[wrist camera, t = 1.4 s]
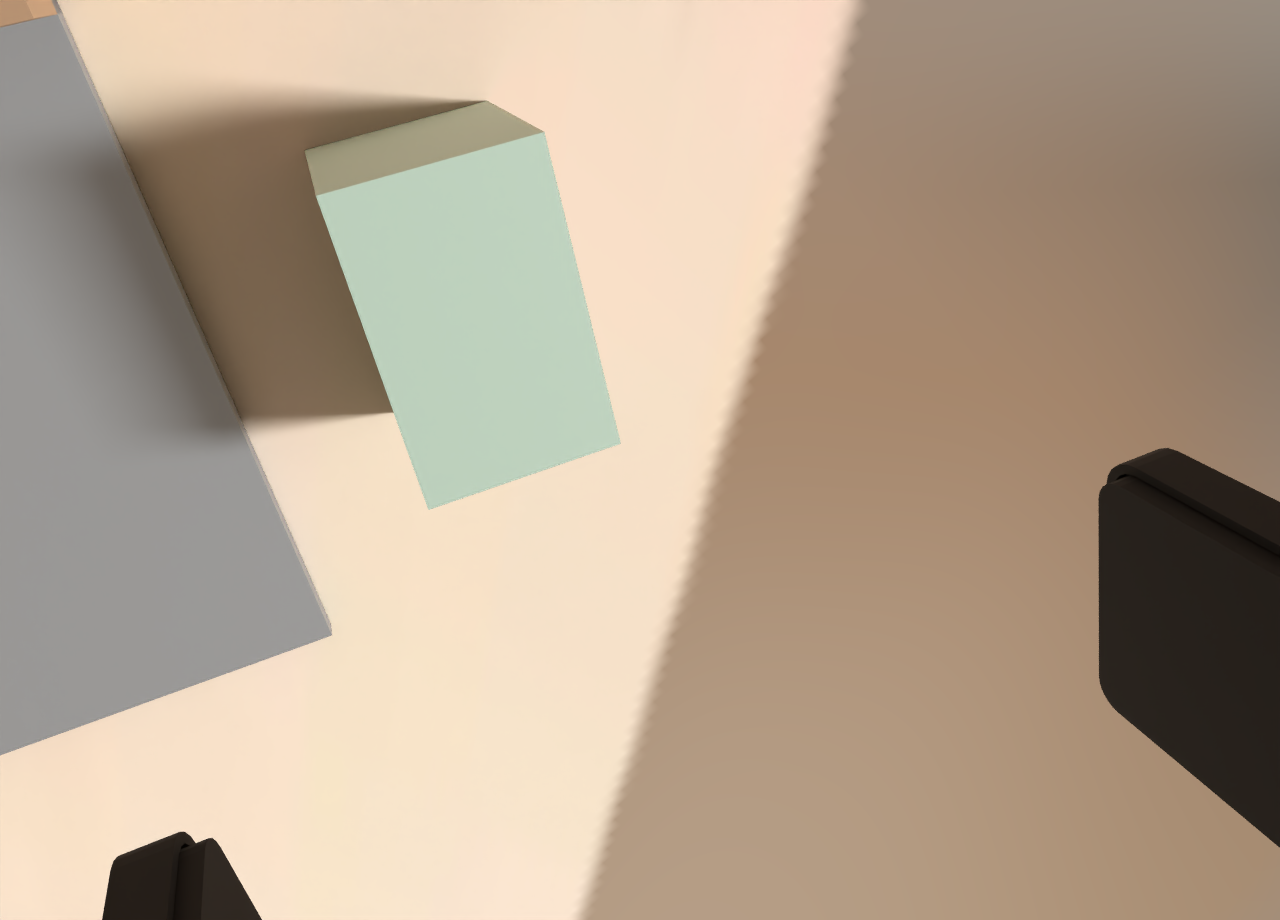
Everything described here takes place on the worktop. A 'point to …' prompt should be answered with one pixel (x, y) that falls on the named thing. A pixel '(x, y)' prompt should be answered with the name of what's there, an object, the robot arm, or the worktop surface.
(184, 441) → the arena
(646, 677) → the worktop surface
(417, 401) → the green block
